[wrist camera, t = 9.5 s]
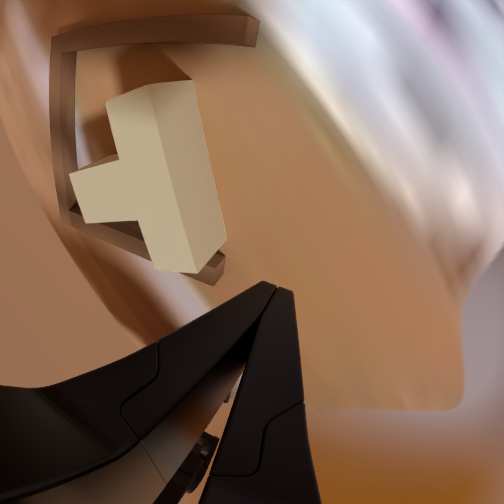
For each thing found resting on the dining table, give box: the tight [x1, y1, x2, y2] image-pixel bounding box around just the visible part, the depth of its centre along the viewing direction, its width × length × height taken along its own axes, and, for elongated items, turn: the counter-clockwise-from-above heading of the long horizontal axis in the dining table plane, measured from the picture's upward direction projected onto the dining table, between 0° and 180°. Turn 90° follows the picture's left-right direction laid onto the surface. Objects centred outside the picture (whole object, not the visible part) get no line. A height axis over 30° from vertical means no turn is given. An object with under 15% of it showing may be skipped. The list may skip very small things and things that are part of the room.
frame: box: [49, 15, 260, 286], centre depth 17 cm, size 16×16×2 cm
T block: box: [69, 80, 228, 274], centre depth 17 cm, size 10×8×4 cm
